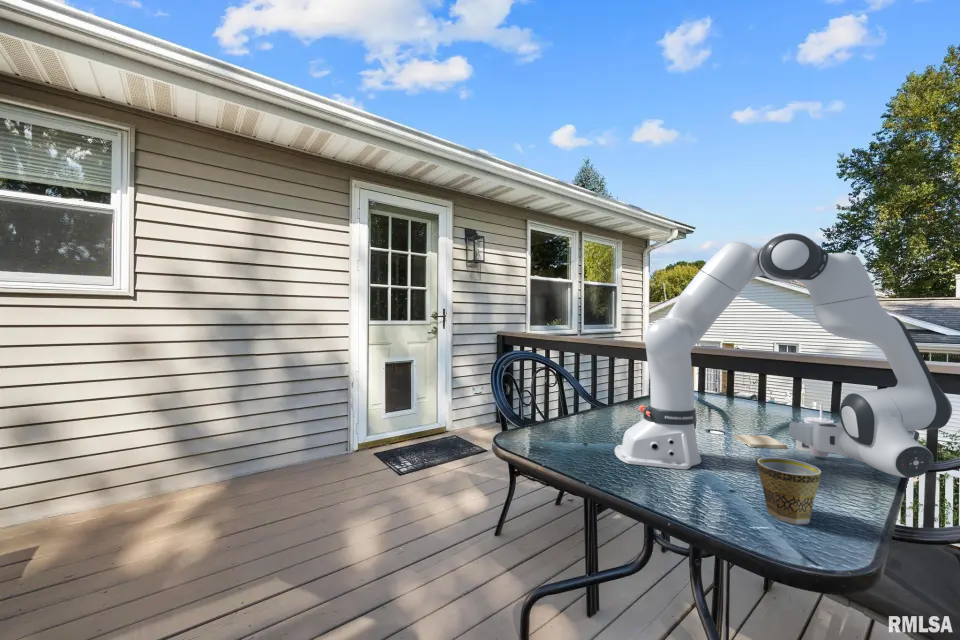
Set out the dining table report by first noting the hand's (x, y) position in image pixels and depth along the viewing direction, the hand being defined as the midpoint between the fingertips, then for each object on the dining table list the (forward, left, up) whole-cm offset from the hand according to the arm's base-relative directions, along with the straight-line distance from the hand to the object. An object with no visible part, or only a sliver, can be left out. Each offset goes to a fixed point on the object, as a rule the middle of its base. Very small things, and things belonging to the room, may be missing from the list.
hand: (816, 425), depth 111 cm
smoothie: (0, -1, -8) cm, 8 cm away
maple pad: (-9, +12, -9) cm, 17 cm away
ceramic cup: (-29, -36, -9) cm, 47 cm away
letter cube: (+2, +8, -9) cm, 12 cm away
